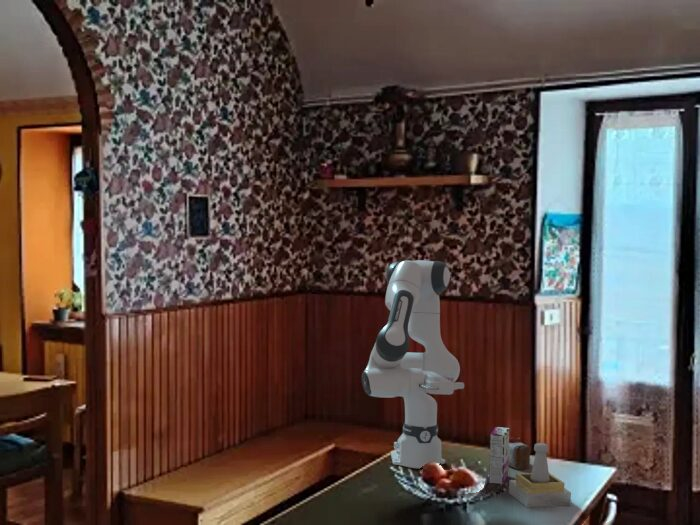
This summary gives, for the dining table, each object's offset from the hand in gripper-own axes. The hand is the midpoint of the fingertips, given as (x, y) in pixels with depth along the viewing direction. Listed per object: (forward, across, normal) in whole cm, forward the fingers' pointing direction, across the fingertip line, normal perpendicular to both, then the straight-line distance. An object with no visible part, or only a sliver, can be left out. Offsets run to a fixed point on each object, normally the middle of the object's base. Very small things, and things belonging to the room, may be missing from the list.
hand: (458, 382), depth 263 cm
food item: (+33, +32, +35) cm, 58 cm away
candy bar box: (+20, +14, +35) cm, 43 cm away
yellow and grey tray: (+25, -7, +35) cm, 44 cm away
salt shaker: (+25, -7, +31) cm, 40 cm away
